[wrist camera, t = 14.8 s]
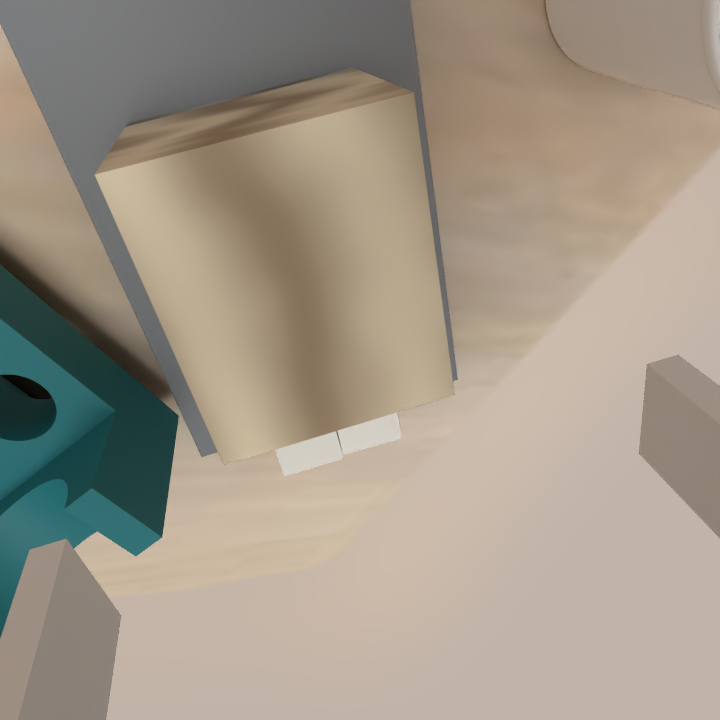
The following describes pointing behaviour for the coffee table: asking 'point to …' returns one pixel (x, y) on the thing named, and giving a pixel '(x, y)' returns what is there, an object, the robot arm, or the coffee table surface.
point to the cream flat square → (369, 434)
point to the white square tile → (309, 453)
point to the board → (192, 92)
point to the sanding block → (288, 256)
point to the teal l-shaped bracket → (73, 441)
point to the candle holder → (645, 43)
